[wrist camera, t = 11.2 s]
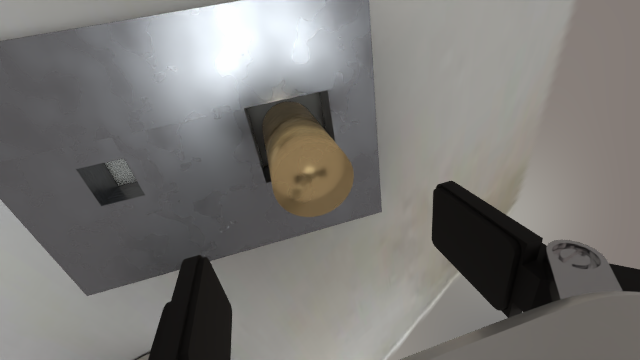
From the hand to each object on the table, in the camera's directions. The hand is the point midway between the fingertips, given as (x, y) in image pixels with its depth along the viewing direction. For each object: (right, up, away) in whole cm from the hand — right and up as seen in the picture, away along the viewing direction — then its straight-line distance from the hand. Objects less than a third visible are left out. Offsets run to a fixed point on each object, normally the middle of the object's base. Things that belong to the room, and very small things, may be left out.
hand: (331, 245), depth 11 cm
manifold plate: (-9, +5, +11) cm, 16 cm away
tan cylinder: (-3, +7, +12) cm, 14 cm away
